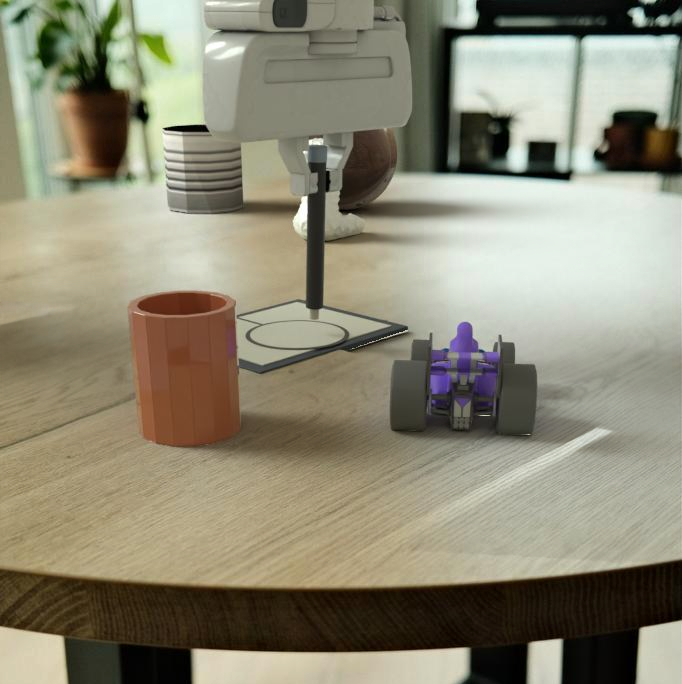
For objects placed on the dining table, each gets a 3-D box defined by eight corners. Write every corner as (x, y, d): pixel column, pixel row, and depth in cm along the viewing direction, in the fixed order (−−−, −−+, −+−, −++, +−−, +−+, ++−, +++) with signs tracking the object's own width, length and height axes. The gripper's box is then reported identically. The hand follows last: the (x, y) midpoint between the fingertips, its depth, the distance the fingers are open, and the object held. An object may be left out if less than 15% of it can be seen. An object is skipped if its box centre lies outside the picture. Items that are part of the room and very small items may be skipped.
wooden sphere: (391, 219, 141) (394, 103, 135) (285, 217, 143) (282, 102, 136) (399, 201, 155) (402, 95, 148) (302, 199, 156) (300, 94, 150)
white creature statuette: (366, 232, 133) (367, 134, 128) (350, 245, 126) (350, 142, 120) (296, 228, 135) (294, 132, 130) (277, 241, 128) (274, 140, 122)
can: (152, 211, 147) (145, 122, 142) (189, 199, 157) (184, 115, 151) (223, 215, 144) (218, 125, 138) (257, 203, 153) (254, 118, 148)
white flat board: (150, 343, 88) (149, 335, 88) (298, 304, 100) (298, 297, 99) (260, 379, 79) (260, 370, 79) (408, 332, 91) (408, 324, 91)
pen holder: (120, 434, 69) (106, 303, 65) (198, 409, 73) (189, 285, 70) (183, 461, 65) (173, 323, 61) (262, 433, 69) (257, 302, 65)
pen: (301, 318, 88) (303, 145, 81) (314, 315, 89) (317, 143, 82) (314, 322, 87) (317, 147, 80) (327, 318, 88) (331, 146, 81)
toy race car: (521, 375, 80) (528, 293, 77) (533, 447, 67) (541, 352, 64) (400, 371, 81) (403, 290, 78) (388, 441, 68) (390, 347, 65)
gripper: (375, 5, 86) (371, 176, 92) (185, 2, 72) (195, 202, 78) (434, 5, 82) (426, 184, 88) (244, 2, 68) (250, 213, 75)
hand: (316, 193), depth 83 cm, fingers closed on pen, 1 cm apart
